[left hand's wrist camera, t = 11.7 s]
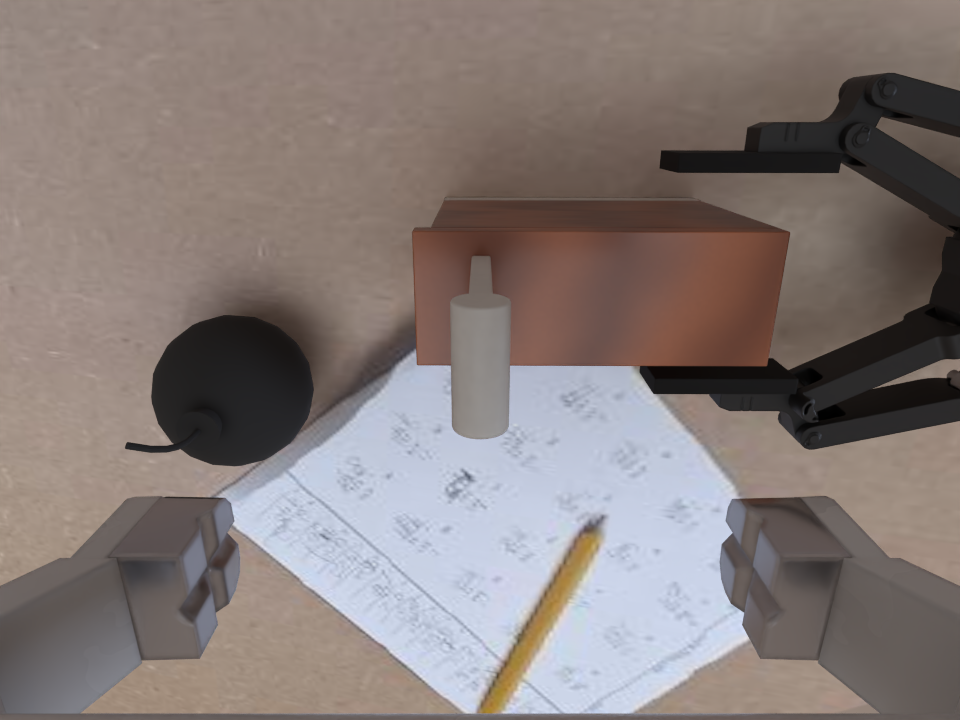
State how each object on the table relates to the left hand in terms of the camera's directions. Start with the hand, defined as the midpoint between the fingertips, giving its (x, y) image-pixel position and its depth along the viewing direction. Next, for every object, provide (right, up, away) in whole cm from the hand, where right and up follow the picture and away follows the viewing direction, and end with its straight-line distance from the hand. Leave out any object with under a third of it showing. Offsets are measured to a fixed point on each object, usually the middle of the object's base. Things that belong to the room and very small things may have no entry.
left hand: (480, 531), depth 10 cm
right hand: (+8, +7, +18) cm, 21 cm away
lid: (+4, +5, +15) cm, 16 cm away
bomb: (-13, +3, +27) cm, 30 cm away
